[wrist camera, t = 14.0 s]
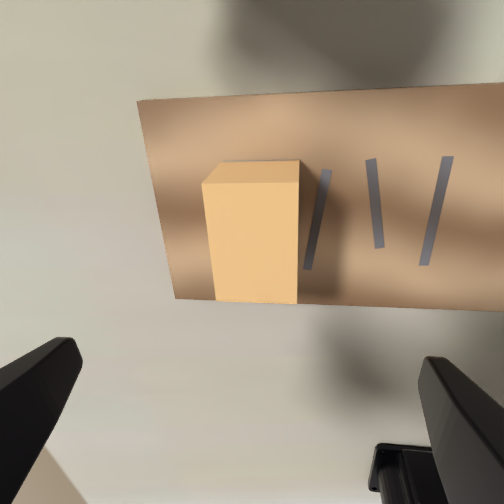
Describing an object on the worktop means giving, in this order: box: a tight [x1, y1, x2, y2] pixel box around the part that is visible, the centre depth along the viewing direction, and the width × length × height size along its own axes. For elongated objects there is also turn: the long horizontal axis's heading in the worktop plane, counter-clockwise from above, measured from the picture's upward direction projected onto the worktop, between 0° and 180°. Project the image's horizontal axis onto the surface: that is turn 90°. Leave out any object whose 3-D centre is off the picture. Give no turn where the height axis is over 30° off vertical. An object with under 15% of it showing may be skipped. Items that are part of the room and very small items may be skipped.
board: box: [137, 82, 504, 312], centre depth 18 cm, size 12×22×1 cm, turn 93°
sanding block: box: [201, 159, 299, 304], centre depth 17 cm, size 6×4×4 cm, turn 3°
